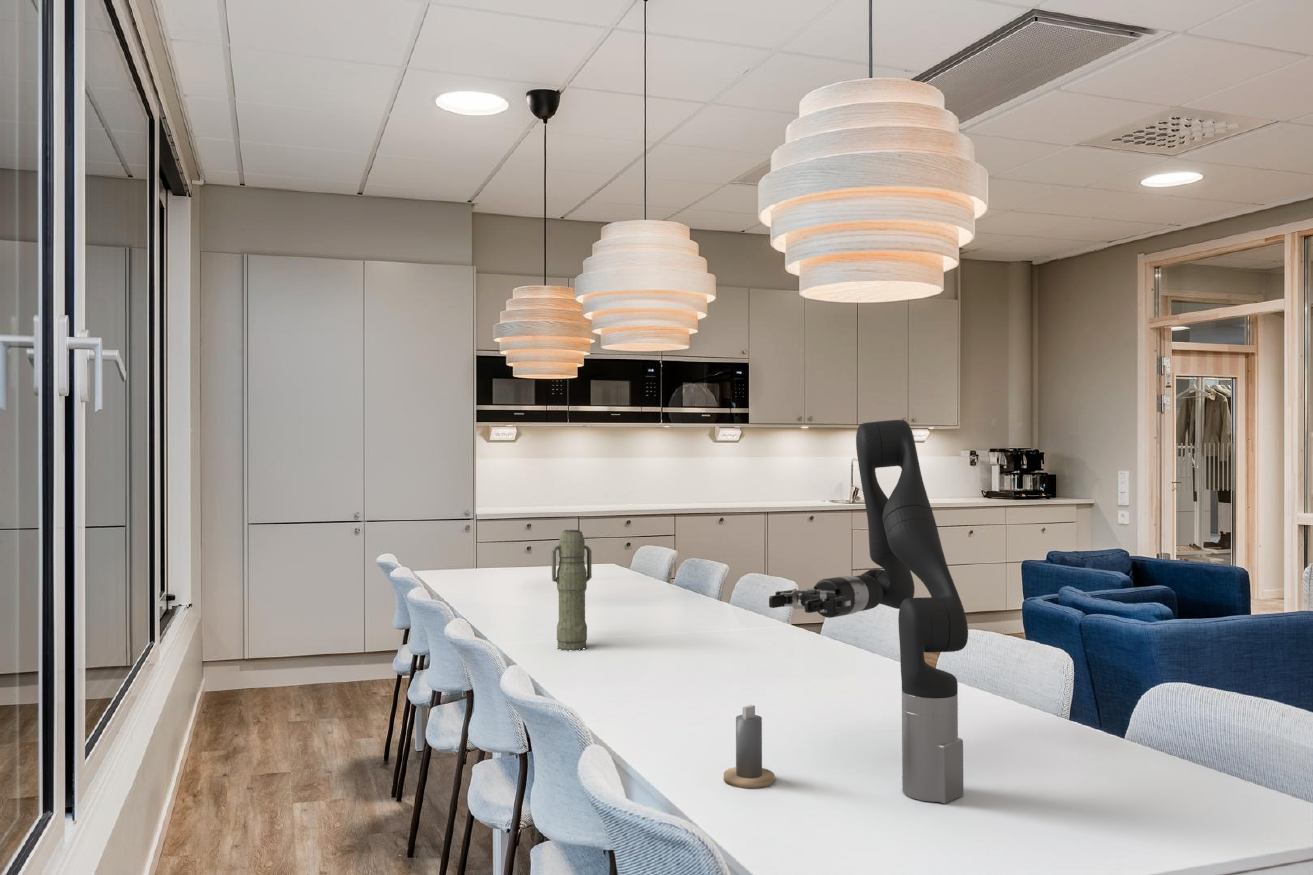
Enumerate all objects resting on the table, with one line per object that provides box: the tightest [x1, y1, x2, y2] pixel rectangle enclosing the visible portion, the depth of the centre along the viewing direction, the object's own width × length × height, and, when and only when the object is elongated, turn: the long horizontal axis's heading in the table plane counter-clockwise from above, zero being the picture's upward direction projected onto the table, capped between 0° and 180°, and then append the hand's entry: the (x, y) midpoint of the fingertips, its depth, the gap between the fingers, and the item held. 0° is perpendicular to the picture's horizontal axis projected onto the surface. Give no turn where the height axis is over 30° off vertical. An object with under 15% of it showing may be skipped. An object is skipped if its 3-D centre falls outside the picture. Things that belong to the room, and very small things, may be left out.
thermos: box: [551, 529, 593, 651], centre depth 298 cm, size 9×12×35 cm
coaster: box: [723, 766, 775, 789], centre depth 178 cm, size 9×9×1 cm
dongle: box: [735, 704, 763, 778], centre depth 178 cm, size 5×5×12 cm
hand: (788, 604), depth 186 cm, fingers open, 8 cm apart
